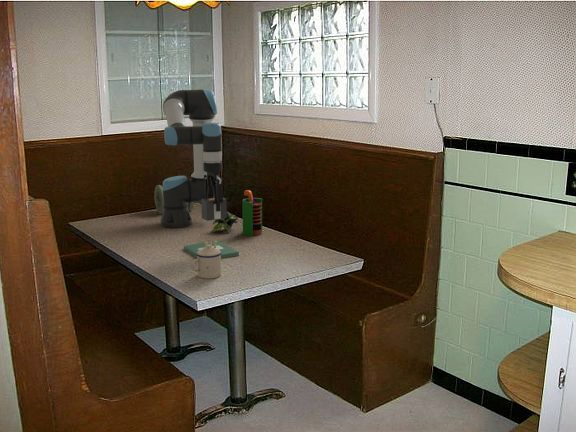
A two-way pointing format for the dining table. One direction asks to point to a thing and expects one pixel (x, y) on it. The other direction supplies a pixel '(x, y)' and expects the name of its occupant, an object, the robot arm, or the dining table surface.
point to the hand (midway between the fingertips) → (214, 217)
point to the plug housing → (212, 209)
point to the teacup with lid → (208, 262)
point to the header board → (224, 249)
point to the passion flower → (225, 222)
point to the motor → (252, 215)
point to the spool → (159, 200)
